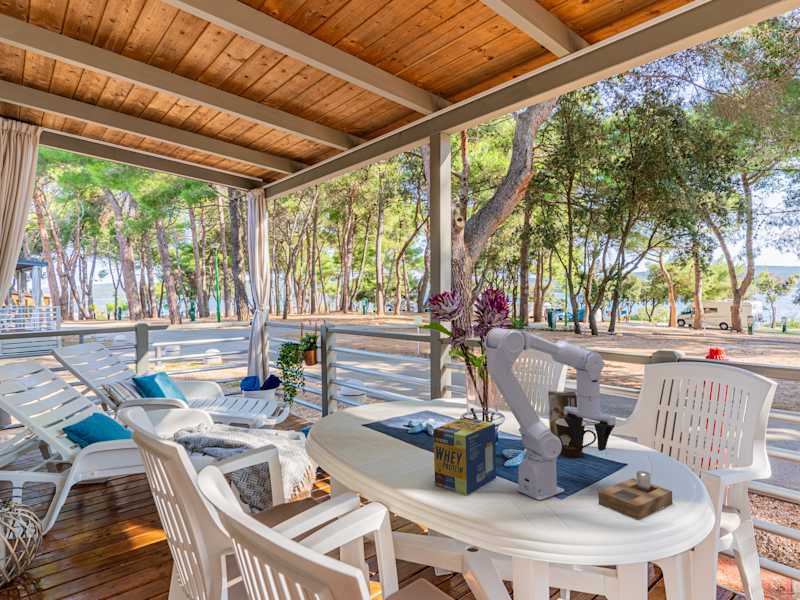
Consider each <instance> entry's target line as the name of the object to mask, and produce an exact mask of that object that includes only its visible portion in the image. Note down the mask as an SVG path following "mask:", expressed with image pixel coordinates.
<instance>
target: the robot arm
mask: <svg viewBox="0 0 800 600" xmlns="http://www.w3.org/2000/svg"><path fill="white" fill-rule="evenodd" d="M483 346H484V350H485V353H486V366H487V367H486V368H487V372H488V374H489V376H490V378H491V379H492V380H493V382H494V384H495V386H496V387H497V390H498V392H499V393H500V394H501V396H502V397H503V399H504V401H505V403H506V404H507V406H508V408H509V410H510V411H511V413H512V415H513V416H514V418H515V420H516V421H517V423H518V424H519V428H518V432H519V434H520V436H521V443H522V446H523V447H524V448H525V449H526V451H525V452H526V457H525V459H523V460H522V461H520V463H519V464H518V467H517V468H518V469H517V471H518V474H517V475H518V477H517V478H518V487H516V488H515V489H516V491H517V492H519V493H522V494H524V495H527V496H528V497H531V498H533V499H535V500H538V501H542V500H545V499H547V498H550V497H553V496H555V495H559V494H561V493H564V492H565V489H564V488H562V487H560V486H558V485H557V479H558V478H557V460H558V457H559V456H560V455H561V454H560V452H561V449H562V444H561V441H560V439H559V438H558V437H557V436H555V435H554V434H552V432H551V431H550V427H548V426H547V425H546V424H545V423H544V422H543V421H542V420H541V419H540V417H539V415H538V414H537V411H536V409H534V407H533V405H532V403H531V401H530V400H529V398H528V397H527V395H526V393H525V391H524V390H523V388H522V386H521V384H520V382H519V380H517V378H516V376H515V373H514V372H513V370H512V369H513V365H514V364H515V363H516V361H517V360H518V358H519V357H520V355H521V353H522V352H523V351H527V350H529V349H532V350H536V351H539V352H542V353H544V354H548V355H550V356H551V358H552V360H553V361H554V362H556V363H559V364H562V365H565V366H568V367H570V368H573V369H574V370H576V371H575V373H576V375H575V376H576V395H577V408H576V407H570V406H567V407H564V414H566V415H567V417H565V418H564V419H565V421H566V423H567V424H568V426H569V429H570V431H571V434H572V437H573V441H574V443H579V442H581V427H582V422H584V421H583V420H584V419H587V420H591V421H595V422H598V423H594V425H593V426H594V429H595V434H596V440H597V450H598V451H600V452H602V451H606V449H607V444H608V440H609V438H610V435H611V433H612V431H613V429H614V428H615V426H616V420H617V419H616V416H615V415H611V414H607V413H606V412H603V411H602V410H601V391H600V388H601V385H600V379H601V377H602V370H603V369H604V366H605V361H604V360H603V358H602V356H601V355H600V354H601V353H599V352H597V351H593V350H587V349H586V348H587V347H586V346H584V345H583V346H582V345H580V346H578V345H575V344H573V343H572V340H569V339H564V340H558V341H557V342H553V341H551V340H549V339H546V338H544V337H541V336H539V335H537V334H534V333H532V332H531V333H530V332H527V331H521V330H517V329H508V328H501V327H493V328H491V329H490V330H489V331H488V332H487V334H486V336H485V339H484V341H483Z"/></svg>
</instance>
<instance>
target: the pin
mask: <svg viewBox="0 0 800 600" xmlns="http://www.w3.org/2000/svg"><path fill="white" fill-rule="evenodd" d="M636 479H637V490H639V491H642V492H645V493H649V492H651V484H652V482H651V480H652V479H651V473H650V472H648V471H645V470H638V471H636Z"/></svg>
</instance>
